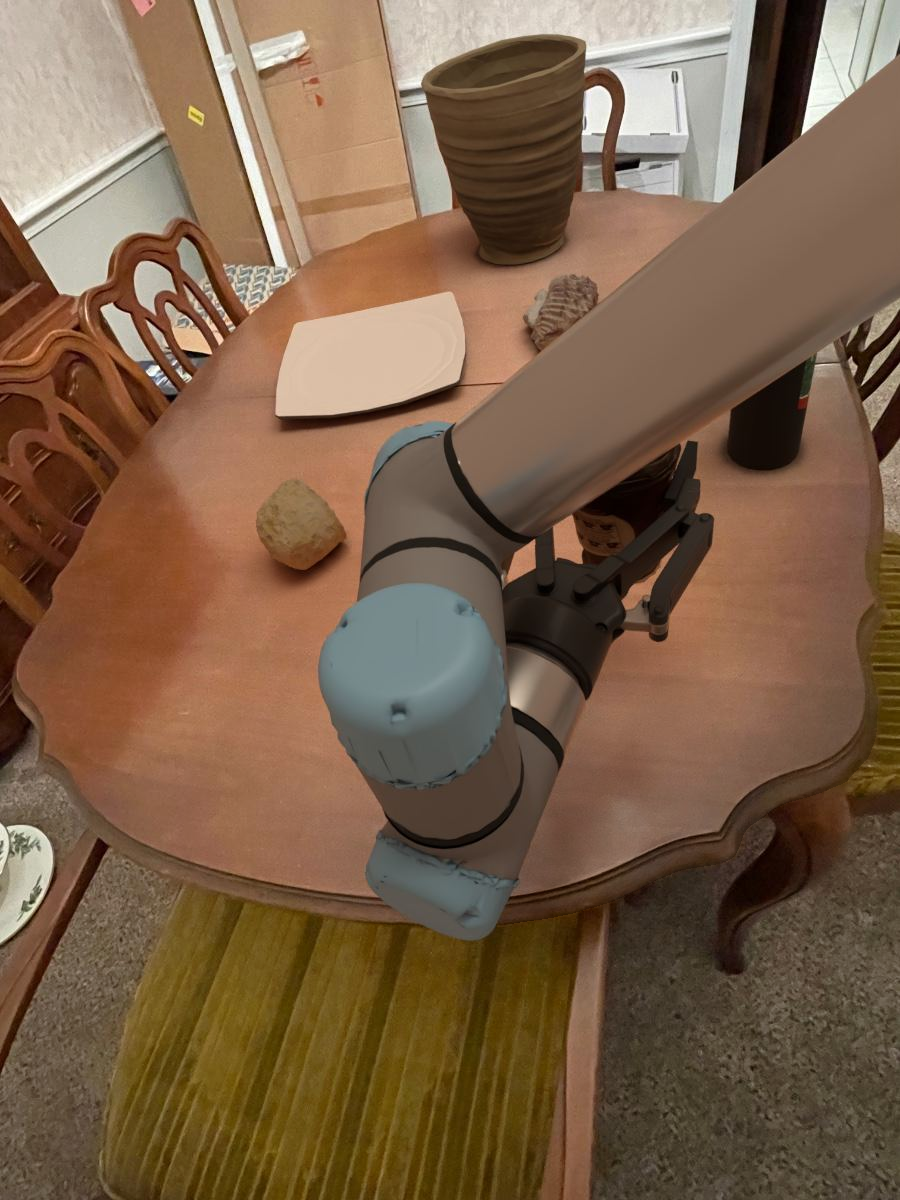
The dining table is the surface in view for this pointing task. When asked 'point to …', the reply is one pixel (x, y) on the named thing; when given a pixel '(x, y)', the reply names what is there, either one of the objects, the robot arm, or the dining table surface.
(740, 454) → the wine bottle
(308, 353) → the plate
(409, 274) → the dining table surface
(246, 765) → the dining table surface
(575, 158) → the vase
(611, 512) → the coffee cup
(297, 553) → the tan rock
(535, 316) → the seashell
